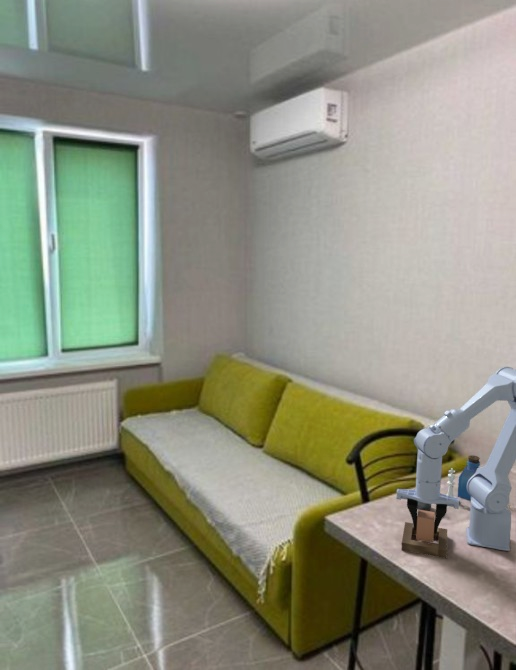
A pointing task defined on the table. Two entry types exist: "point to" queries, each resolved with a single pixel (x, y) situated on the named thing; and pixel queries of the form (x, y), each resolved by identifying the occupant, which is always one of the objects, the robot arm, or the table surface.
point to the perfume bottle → (467, 476)
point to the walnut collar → (424, 547)
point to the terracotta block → (425, 526)
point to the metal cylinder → (424, 506)
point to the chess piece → (451, 483)
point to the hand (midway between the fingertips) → (425, 529)
